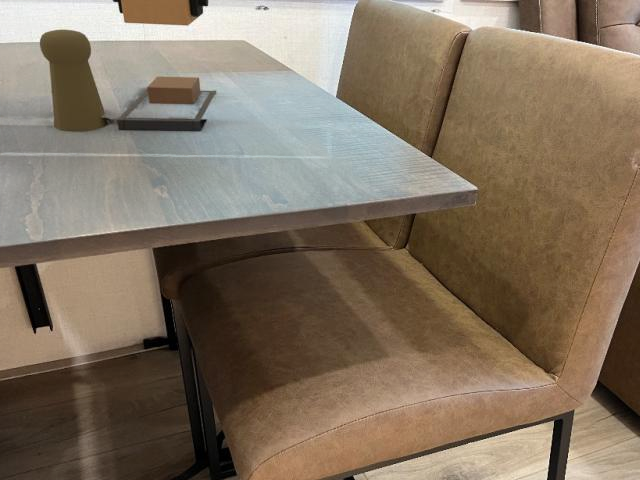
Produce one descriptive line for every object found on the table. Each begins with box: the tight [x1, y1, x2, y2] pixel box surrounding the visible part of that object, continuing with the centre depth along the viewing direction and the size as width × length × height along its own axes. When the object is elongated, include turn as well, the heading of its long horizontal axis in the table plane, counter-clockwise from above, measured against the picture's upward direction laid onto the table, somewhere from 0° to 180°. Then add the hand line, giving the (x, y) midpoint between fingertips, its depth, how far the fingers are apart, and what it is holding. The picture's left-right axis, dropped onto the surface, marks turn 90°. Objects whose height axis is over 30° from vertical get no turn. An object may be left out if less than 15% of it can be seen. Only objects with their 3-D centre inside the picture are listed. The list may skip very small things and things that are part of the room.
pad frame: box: [116, 88, 217, 132], centre depth 83 cm, size 10×16×2 cm, turn 7°
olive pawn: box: [39, 29, 109, 133], centre depth 75 cm, size 6×6×11 cm
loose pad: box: [121, 0, 199, 26], centre depth 59 cm, size 6×6×3 cm
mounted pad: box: [146, 76, 202, 105], centre depth 86 cm, size 6×6×3 cm
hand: (162, 11), depth 59 cm, fingers closed on loose pad, 5 cm apart
